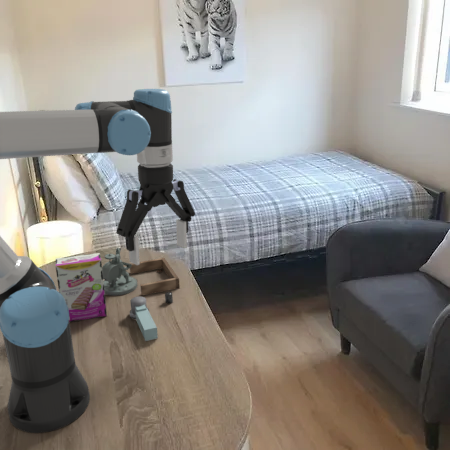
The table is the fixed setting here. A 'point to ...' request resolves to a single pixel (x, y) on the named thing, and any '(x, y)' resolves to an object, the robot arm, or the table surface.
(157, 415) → the table surface
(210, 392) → the table surface
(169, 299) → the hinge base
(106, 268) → the figurine
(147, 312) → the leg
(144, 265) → the seat frame
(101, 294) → the candy bar box
